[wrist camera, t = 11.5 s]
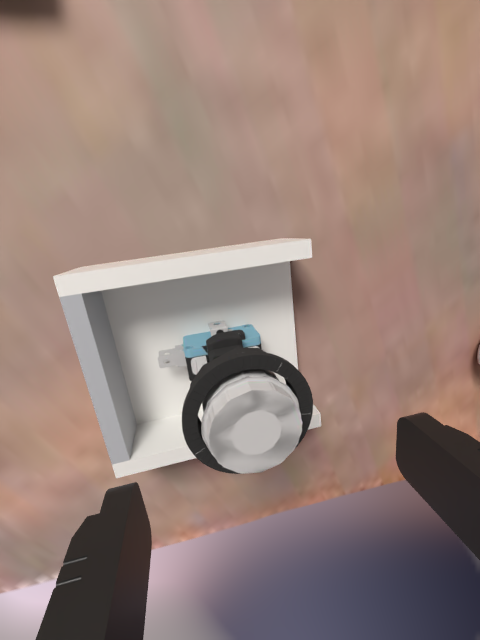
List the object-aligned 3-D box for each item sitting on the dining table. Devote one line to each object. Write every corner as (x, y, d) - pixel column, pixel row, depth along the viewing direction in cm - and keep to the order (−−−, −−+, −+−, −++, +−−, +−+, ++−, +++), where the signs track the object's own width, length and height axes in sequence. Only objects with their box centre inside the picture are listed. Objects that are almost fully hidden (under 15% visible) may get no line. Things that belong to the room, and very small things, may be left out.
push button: (167, 387, 20) (159, 518, 11) (151, 313, 19) (127, 391, 9) (260, 369, 22) (326, 473, 12) (253, 297, 20) (322, 352, 11)
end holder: (282, 238, 20) (311, 238, 16) (295, 392, 24) (321, 426, 20) (81, 266, 18) (52, 276, 14) (127, 431, 22) (116, 478, 18)
